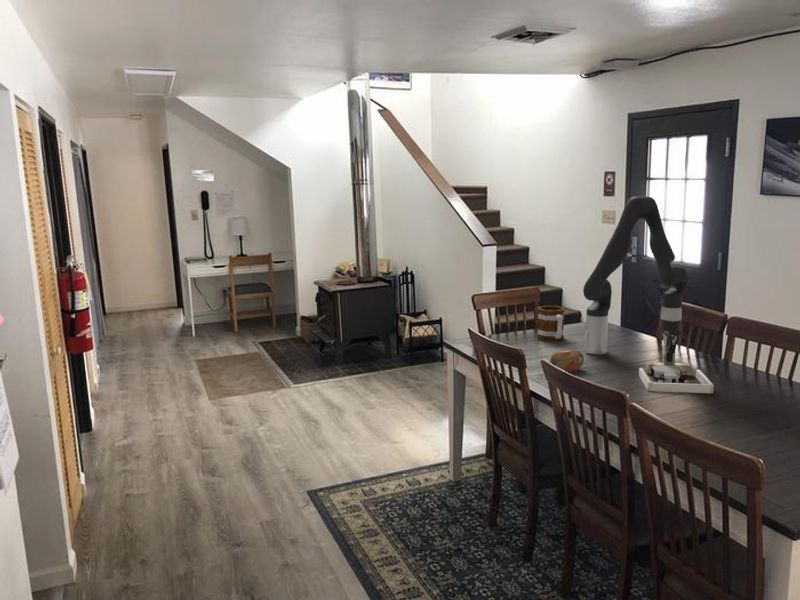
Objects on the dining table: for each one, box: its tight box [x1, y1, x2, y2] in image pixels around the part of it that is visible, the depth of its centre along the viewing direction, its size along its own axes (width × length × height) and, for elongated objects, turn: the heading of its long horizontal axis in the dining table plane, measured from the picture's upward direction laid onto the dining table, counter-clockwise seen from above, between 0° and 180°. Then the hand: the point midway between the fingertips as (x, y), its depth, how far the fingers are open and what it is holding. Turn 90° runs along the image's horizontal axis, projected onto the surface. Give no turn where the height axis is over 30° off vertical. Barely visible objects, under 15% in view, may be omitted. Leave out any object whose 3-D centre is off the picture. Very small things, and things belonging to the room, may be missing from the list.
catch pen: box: [638, 367, 715, 394], centre depth 242 cm, size 22×19×3 cm
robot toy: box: [648, 365, 690, 384], centre depth 245 cm, size 12×4×15 cm
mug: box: [536, 305, 565, 342], centre depth 310 cm, size 20×14×15 cm
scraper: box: [645, 343, 692, 376], centre depth 253 cm, size 16×3×12 cm, turn 80°
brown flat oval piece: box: [549, 349, 584, 373], centre depth 261 cm, size 15×3×8 cm, turn 112°
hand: (668, 360), depth 253 cm, fingers closed on scraper, 3 cm apart
